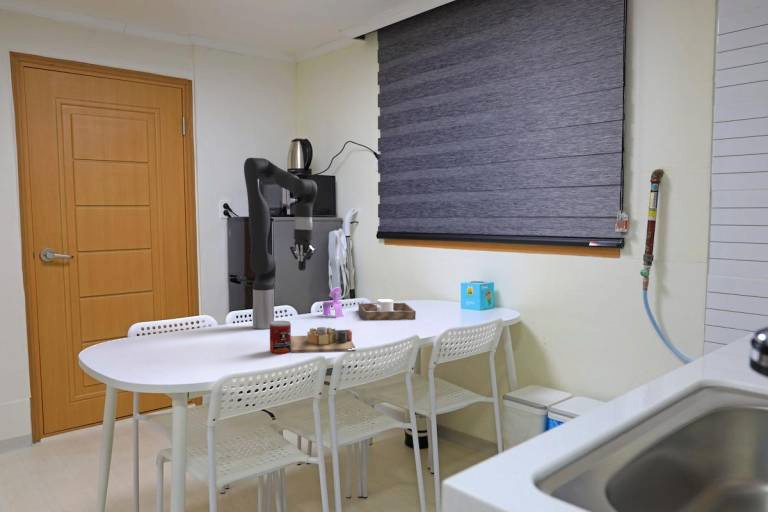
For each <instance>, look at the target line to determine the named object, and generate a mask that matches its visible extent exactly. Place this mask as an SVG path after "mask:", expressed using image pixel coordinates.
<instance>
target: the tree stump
mask: <svg viewBox="0 0 768 512" xmlns="http://www.w3.org/2000/svg"><path fill="white" fill-rule="evenodd" d="M376 301H377V302H376V303H377V304H373V305H375V306H376V305H377V306H376V307H377V311H376V312H381V311H393V303H394V300H393V299H388V298H387V299H386V298H383V299H377V300H376Z"/></svg>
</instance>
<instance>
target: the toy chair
mask: <svg viewBox="0 0 768 512" xmlns="http://www.w3.org/2000/svg"><path fill="white" fill-rule="evenodd" d="M341 294H342V288H341V287H340V286H336V287H334V288H332V289H330V292H329V295H330V298H332V299H333V300H327V301H322V302H323V303H322V309H323V311H322V316H323V315H328V314H332V312H331V306H333V309H334V313H335V314H334V315H335V316H334V318H335V319H338V317H339V318H343V317H344V314H343V312H342V311H343V310H342V309H343V304H342V301H340V295H341ZM328 316H329V315H328Z"/></svg>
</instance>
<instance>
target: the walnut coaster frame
mask: <svg viewBox="0 0 768 512" xmlns="http://www.w3.org/2000/svg"><path fill="white" fill-rule="evenodd" d="M373 304H377V302H374V303H373V302H371V303H370V302H367V303H363V302H361V303H359V302H358V312H359V314H360V315H361V317H362V318H363V320H364V321H390V320H389V319H408V320H416V318H417V317H416V315H417V314H416V310H415V309H413V308H412V307H411V306H410V305H408V304H407V303H406V302H393V310H404V311H381V312H377V307H376V306H377V305H376V306H375V305H373Z"/></svg>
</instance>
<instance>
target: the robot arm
mask: <svg viewBox="0 0 768 512" xmlns="http://www.w3.org/2000/svg"><path fill="white" fill-rule="evenodd" d="M243 163H244V164H243V173H244V174H243V176H244V181H245V187H246V194H247V195H246V197H247V204H248V205H247V209H248V223H249V235H250V236H249V237H250V262H249V264H250V269H251V270H252V273H254V274H255V279H254V281H253V283H252V329H256V330H257V329H258V330H267V329H269V330H270V323H271V322H273V321H275V283H276V274H277V273H276V272H277V265H276V263H277V262H276V259H275V257H274V256H273V255H272V254H271V253H269V252H268V251H269V250H268V237H269V235H270V228H271V213H270V206H269V204H268V202H267V200H266V199H265V197H264V196H263V195H262V192H261V190H260V187H259V181H258V180H271V181H274V182H275V184H276V185H277V186H278V187H280V188H282V189H284V190H288V192H290V194H292V195H294V196H297V197H302V201H300V202H297V203H295V207H294V208H295V209H294V222H293V239H294V243H293V245H292V246H290V247H289V250H290V251H291V254H292V255H293V258H294V259H295V260H297V261H298V267H297V268H298V270H299V271H305V270H306V268H307V266H306V265H307V261H310V260H311V259H312V257H313V255H314V253H315V252H316V248H313V246H312V240H313V227H314V225H313V207H314V204H315V200H316V198H317V193H318V185H317V182H316V181H315V180H313V179H305V178H299V177H298V175H296V174H294V173H291V172H289V171H286V170H284V169H282V168H281V167H278V165H275V164H274V163H273V162H271V161H270V160H268V159H267V158H264V157H262V158H261V157H247V158H246V159H245V161H244V162H243Z"/></svg>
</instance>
